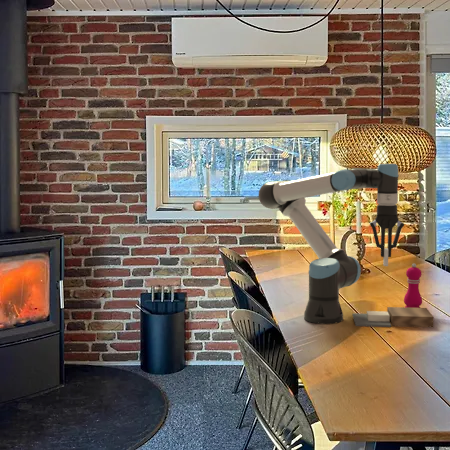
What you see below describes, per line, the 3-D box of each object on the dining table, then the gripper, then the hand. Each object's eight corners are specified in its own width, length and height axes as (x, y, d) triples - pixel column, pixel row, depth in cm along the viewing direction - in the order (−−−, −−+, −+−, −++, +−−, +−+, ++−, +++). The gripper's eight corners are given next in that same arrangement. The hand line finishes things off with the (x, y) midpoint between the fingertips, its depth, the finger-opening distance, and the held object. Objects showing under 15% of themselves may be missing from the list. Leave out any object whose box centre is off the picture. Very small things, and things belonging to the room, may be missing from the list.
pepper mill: (424, 313, 242) (425, 265, 240) (406, 313, 242) (407, 265, 240) (418, 309, 249) (420, 261, 247) (401, 309, 250) (402, 261, 247)
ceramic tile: (368, 320, 230) (368, 314, 230) (366, 317, 235) (366, 311, 235) (389, 321, 229) (389, 315, 229) (387, 317, 234) (387, 311, 234)
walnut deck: (392, 326, 225) (392, 315, 225) (387, 316, 238) (387, 307, 238) (433, 327, 223) (433, 316, 223) (426, 317, 236) (426, 307, 236)
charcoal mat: (355, 326, 226) (355, 323, 226) (352, 315, 241) (352, 313, 241) (391, 326, 224) (391, 324, 224) (385, 316, 239) (385, 314, 239)
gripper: (370, 205, 225) (369, 266, 228) (406, 205, 223) (404, 267, 226) (368, 203, 232) (367, 263, 235) (403, 203, 230) (401, 263, 233)
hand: (385, 265), depth 230 cm, fingers closed
